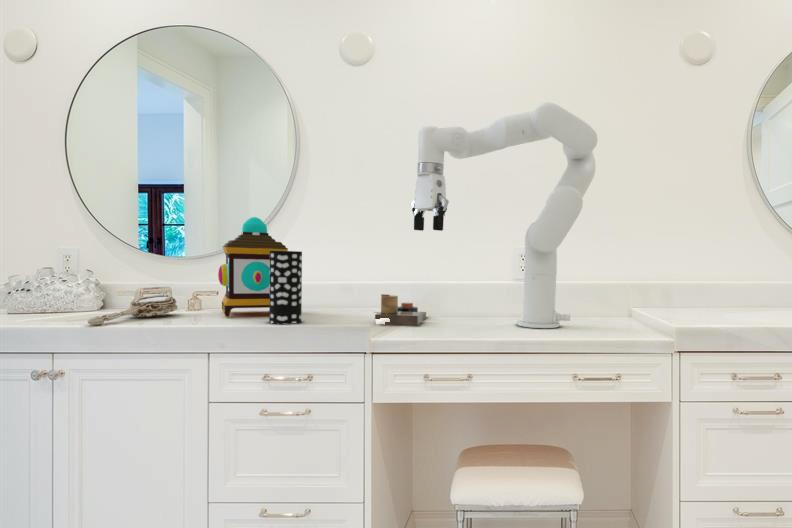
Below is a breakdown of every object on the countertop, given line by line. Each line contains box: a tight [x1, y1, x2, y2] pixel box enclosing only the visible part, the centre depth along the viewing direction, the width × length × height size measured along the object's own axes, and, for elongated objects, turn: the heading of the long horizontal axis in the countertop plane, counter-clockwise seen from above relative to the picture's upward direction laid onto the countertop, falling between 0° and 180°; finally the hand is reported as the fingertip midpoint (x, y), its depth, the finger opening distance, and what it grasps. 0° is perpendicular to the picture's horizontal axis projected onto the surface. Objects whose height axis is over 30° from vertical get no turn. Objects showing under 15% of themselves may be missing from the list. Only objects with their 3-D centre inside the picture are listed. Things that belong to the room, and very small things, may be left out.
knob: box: [380, 293, 399, 314], centre depth 160 cm, size 5×5×5 cm
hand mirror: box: [87, 294, 179, 326], centre depth 150 cm, size 11×6×30 cm
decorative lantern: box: [217, 216, 289, 319], centre depth 170 cm, size 20×20×30 cm
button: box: [400, 302, 414, 308], centre depth 173 cm, size 4×4×2 cm
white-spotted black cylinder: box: [268, 250, 303, 325], centre depth 154 cm, size 8×8×20 cm
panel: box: [373, 311, 424, 327], centre depth 160 cm, size 14×10×3 cm
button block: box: [398, 305, 427, 321], centre depth 173 cm, size 11×9×4 cm
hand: (428, 230), depth 161 cm, fingers open, 9 cm apart
